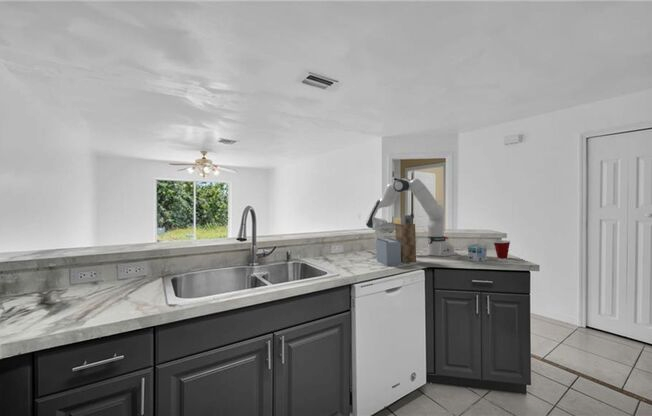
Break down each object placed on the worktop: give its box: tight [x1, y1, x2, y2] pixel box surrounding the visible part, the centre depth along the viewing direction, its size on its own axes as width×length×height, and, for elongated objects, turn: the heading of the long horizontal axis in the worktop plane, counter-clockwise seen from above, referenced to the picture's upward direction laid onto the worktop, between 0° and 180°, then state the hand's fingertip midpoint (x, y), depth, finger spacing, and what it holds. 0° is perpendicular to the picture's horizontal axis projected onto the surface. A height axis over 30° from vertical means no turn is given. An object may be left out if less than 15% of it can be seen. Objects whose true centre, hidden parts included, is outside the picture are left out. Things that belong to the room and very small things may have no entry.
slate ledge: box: [375, 237, 402, 266], centre depth 195 cm, size 10×18×16 cm, turn 11°
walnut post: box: [394, 223, 417, 264], centre depth 198 cm, size 10×10×26 cm
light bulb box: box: [467, 243, 488, 263], centre depth 194 cm, size 11×7×11 cm, turn 117°
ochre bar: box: [392, 214, 413, 224], centre depth 203 cm, size 5×20×6 cm, turn 11°
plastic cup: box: [492, 239, 511, 259], centre depth 200 cm, size 11×11×12 cm
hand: (388, 221), depth 225 cm, fingers open, 8 cm apart
